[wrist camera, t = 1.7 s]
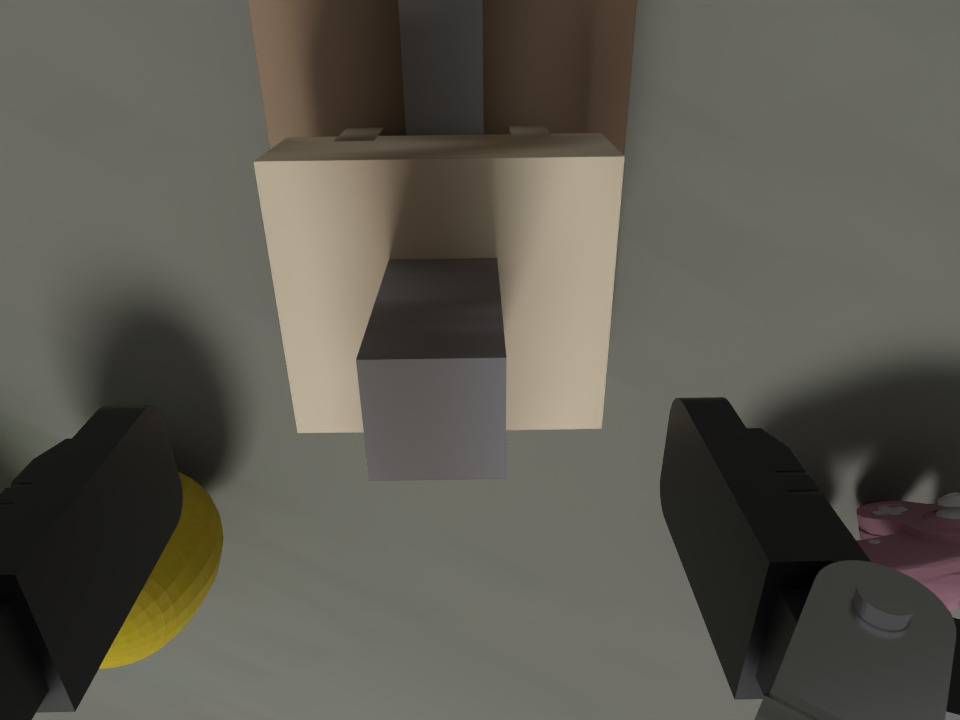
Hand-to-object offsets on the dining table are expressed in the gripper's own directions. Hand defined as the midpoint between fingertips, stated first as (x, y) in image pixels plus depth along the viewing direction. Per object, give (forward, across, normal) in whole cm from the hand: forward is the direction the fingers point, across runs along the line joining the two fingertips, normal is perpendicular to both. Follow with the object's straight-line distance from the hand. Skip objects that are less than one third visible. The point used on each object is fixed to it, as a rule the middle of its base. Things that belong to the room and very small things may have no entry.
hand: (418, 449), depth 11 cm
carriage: (+10, 0, 0) cm, 10 cm away
